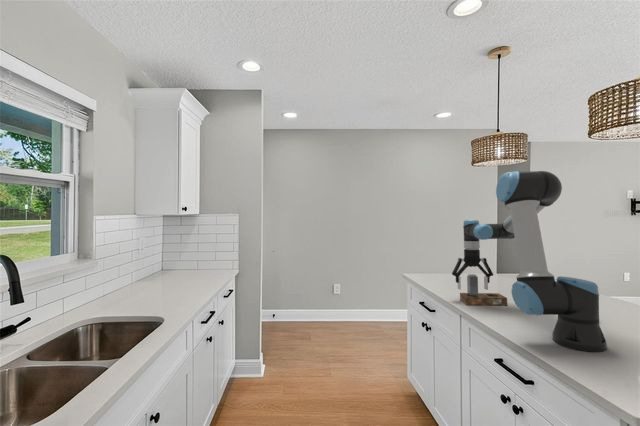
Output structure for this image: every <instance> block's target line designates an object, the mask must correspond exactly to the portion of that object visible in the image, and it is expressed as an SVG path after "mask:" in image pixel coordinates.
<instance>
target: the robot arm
mask: <svg viewBox="0 0 640 426" xmlns="http://www.w3.org/2000/svg"><path fill="white" fill-rule="evenodd" d="M495 187H496V188H495V195H496V198H497V199H498V202H501V203H504V208H505V209H506V210H508V211H509V212H510V215H509V216H508V217H507V218H506V219H505V220H504V221H503V222H501V223H480V221H479V220H478V219H465V220H463V226H462V227H463V248H464V249H463V258H462V257H458V258H457V262H456V265H455V266H454V268H453V270H452V272H451V275H452V276H454V277H455V282H456V283H457V289H458V290H461V289H462V284H461V282H462V281H461V274H462V273H463V272H465V270H466V269H467V268H469V267H470V268H471V267H474V268H476V267H477V268H478V269H479V270H480V271H481V273H483V274H484V275H485V276H484V277H483V284H484V286H483V287H484V288H483V289H484V290H485V291H486V290H489V284H490V279H491V277H493V276H494V273H493V271H492V270H491V267H490V265H489V264H488V261H487V258H486V257H481V255H480V254H481V253H480V252H481V251H480V249H481V248H480V247H481V246H480V245H481V244H480V241H482V240H483V241H484V240H486V241H487V240H496V239H497V240H499V239H501V240H502V239H504V240H505V239H507V240H513V239H514V242H515V247H516V248H515V249H516V254H517V260H518V261H517V262H518V266H519V274H518V275H517V276H516V281H514V282H513V284H512V285H511V296H512V300H513V302H514V304H515V305H516V307H517V308H518V310H519V311H521V312H522V313H524V314H525V315H530V316H534V315H535V316H544V315H545V316H553V315H555V316H556V315H557V320H556V323H555V326H554V328H553V330H552V341H554V342H555V343H556V344H557V345H561V346H562V347H566V348H569V349H573V350H577V351H584V352H591V353H592V352H593V353H596V352H605V351H606V350H607V348H608V347H607V346H608V345H607V340H606V338H605V336H604V333H603V331H602V328H601V326H600V325H601V324H600V306H599V305H600V303H599V302H600V298H599V297H600V294H599V286H598V284H596V283H595V282H593V281H590V280H587V279H581V278H576V277H575V278H574V277H570V276H561V275H560V276H556V277H557V278H556V279H555V275H554V274H553V273H551V272H550V271H549V269H548V266H547V259H546V255H545V248H544V243H543V238H542V232H541V228H540V227H541V226H540V221H539V216H538V214H539V213H540V212H541V211H542V210H543V209H544V208H546V207H550V206H552V205H554V203H555V202H556V201H558V199H559V198H560V196H561V194H562V190H563V187H562V182H561V179H559V177H558V176H557V175H555V174H554V173H552V172H550V171H546V170H537V171H531V170H530V171H518V170H515V171H508V172H505V173H503V174H502V175H500V177H499V179H498V181H497V184H496V186H495ZM463 262H464V263H463ZM480 262H481V263H483V266H484V267H485V268H484V267H483V266H482V265H481V264H480ZM462 263H463V265H462ZM461 265H462V266H461ZM485 269H486V270H485Z"/></svg>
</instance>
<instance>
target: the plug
mask: <svg viewBox="0 0 640 426" xmlns="http://www.w3.org/2000/svg"><path fill="white" fill-rule="evenodd" d="M478 279H479V277H478V276H477V274H474V273H470V274H469V273H468V274H467V276H466V281H467V282H466V283H467V284H466V285H467V286H466V287H467V292H466V293H468V296H478V293H479V280H478Z"/></svg>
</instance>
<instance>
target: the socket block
mask: <svg viewBox="0 0 640 426" xmlns="http://www.w3.org/2000/svg"><path fill="white" fill-rule="evenodd" d="M459 301H460V302H462V303H463V304H464V305H466V306H485V307H487V306H488V307H489V306H490V307H493V306H497V307H502V306H504V307H508V298H507V297H506V296H504V295H503V294H501V293H499V292H498V293H497V292H495V293H494V292H478V296H468V293H467V292H459Z"/></svg>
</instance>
